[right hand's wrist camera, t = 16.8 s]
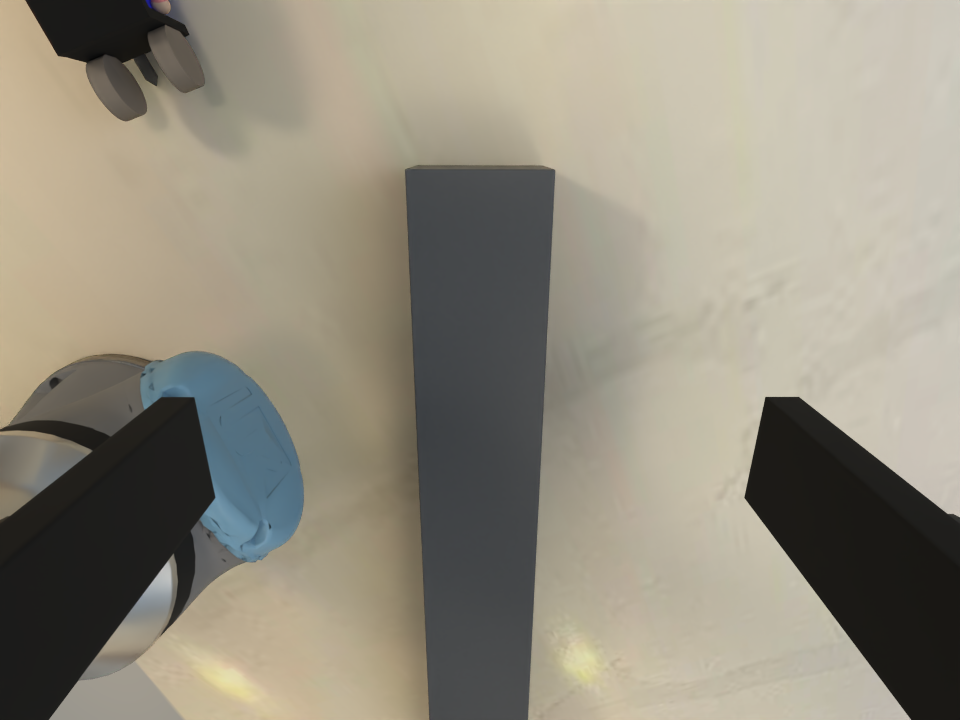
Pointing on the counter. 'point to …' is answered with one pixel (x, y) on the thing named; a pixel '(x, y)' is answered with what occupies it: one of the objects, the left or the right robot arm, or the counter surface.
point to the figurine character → (120, 46)
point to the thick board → (479, 423)
